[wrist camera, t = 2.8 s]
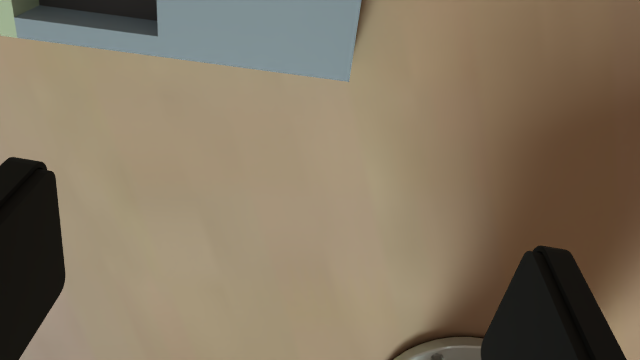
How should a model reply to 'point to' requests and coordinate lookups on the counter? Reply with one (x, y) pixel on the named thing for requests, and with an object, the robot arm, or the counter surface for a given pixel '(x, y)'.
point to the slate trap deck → (201, 30)
